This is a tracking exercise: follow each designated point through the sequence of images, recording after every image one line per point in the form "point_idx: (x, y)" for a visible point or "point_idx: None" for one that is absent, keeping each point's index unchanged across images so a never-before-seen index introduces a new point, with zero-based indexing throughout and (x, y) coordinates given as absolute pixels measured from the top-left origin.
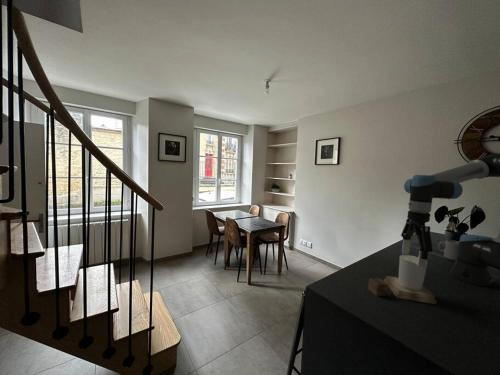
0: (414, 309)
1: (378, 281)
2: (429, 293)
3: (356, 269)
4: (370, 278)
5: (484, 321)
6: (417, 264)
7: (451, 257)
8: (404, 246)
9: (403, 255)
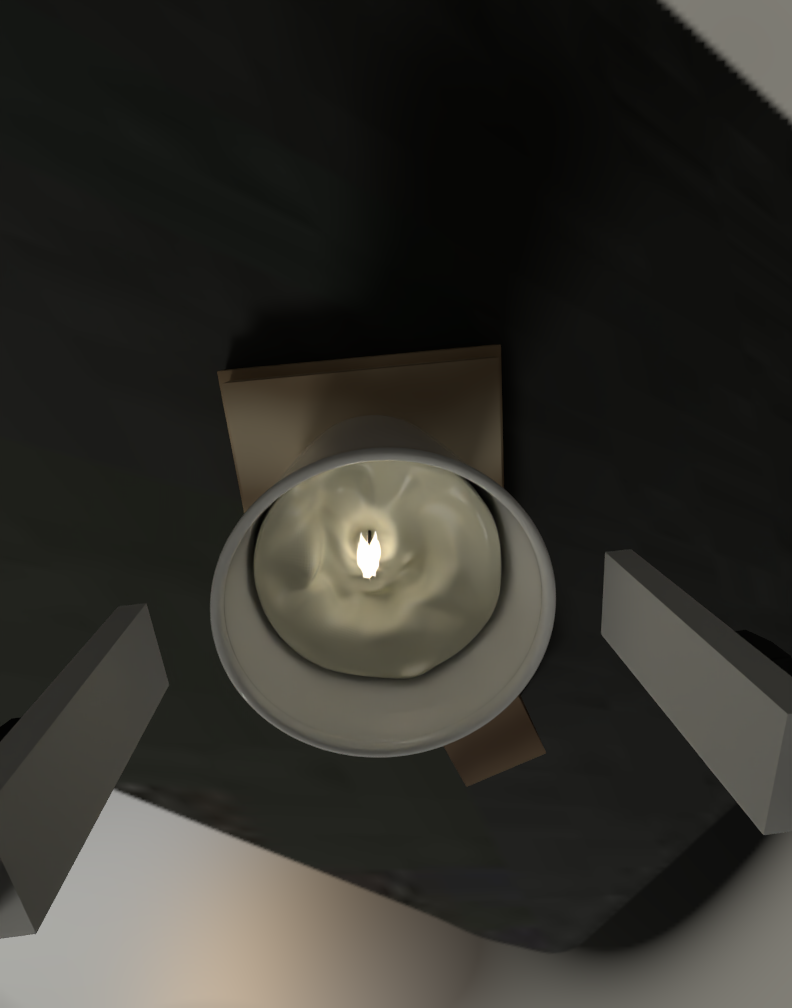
0: (609, 522)
1: (493, 739)
2: (461, 381)
3: (153, 758)
4: (462, 779)
5: (626, 61)
6: (607, 640)
7: None
8: (109, 766)
9: (254, 689)
